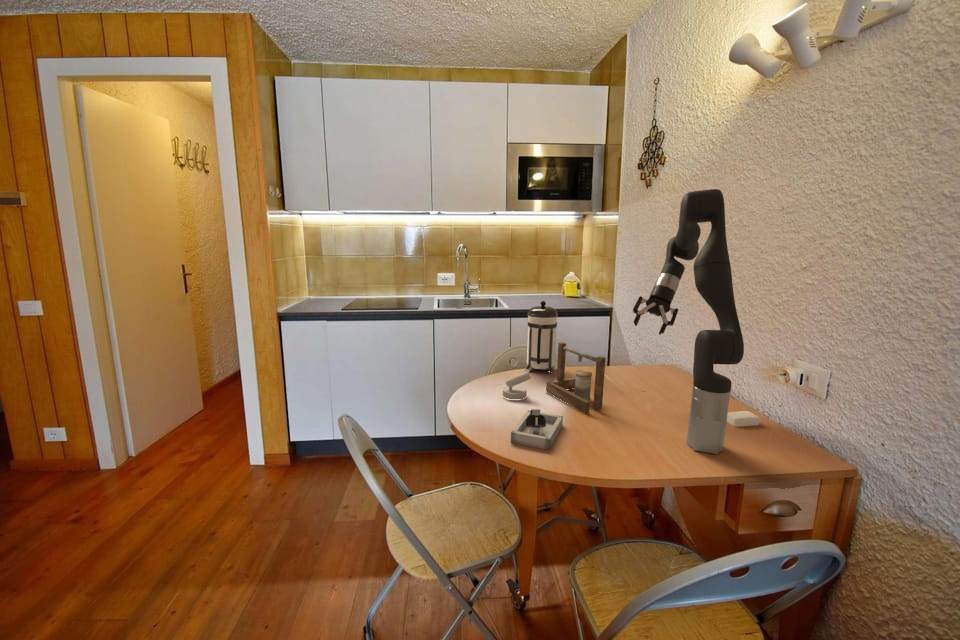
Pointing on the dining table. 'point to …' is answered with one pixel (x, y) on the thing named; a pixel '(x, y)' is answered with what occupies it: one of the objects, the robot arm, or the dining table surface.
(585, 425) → the dining table surface
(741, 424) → the soap
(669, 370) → the dining table surface
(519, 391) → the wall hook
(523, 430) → the plug tray
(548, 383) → the wooden frame rack
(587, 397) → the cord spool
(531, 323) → the coffee press
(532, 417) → the power plug
